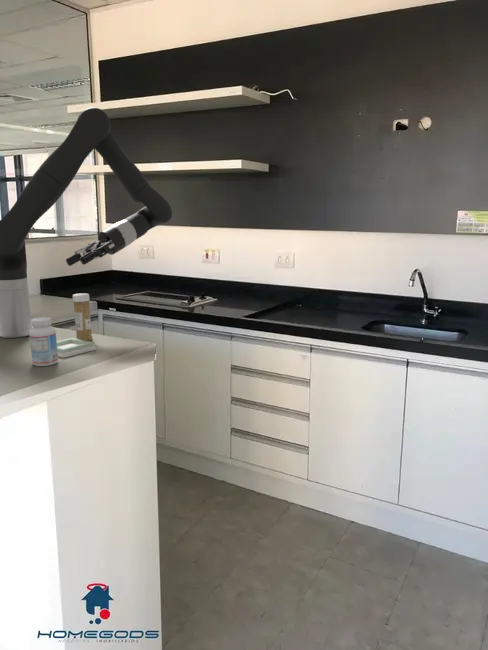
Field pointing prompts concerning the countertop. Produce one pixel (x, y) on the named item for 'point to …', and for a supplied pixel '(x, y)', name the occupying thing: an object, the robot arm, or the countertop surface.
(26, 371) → the countertop surface
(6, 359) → the countertop surface
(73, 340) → the socket plate
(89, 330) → the sprinkles bottle
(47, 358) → the pill bottle
